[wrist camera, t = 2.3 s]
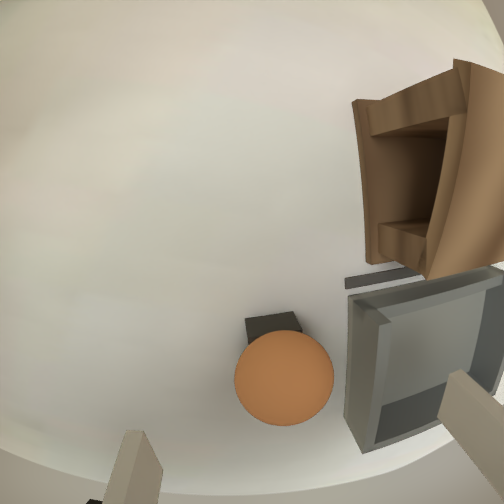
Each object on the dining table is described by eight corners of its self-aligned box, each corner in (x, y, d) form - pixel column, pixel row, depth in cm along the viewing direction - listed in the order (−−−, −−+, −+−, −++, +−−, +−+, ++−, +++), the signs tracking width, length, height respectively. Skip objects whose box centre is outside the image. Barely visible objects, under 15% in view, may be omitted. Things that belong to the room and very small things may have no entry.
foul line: (345, 288, 19) (346, 289, 19) (344, 278, 19) (345, 278, 18) (489, 257, 20) (491, 258, 19) (490, 249, 19) (491, 249, 19)
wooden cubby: (365, 261, 19) (471, 327, 9) (351, 102, 16) (457, 46, 7) (480, 241, 19) (577, 274, 9) (472, 114, 17) (573, 101, 7)
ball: (239, 392, 17) (244, 452, 12) (226, 321, 16) (228, 374, 11) (319, 379, 18) (344, 432, 13) (317, 307, 16) (350, 353, 12)
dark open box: (250, 358, 19) (254, 380, 17) (244, 318, 19) (247, 337, 16) (295, 351, 19) (304, 372, 17) (292, 311, 19) (302, 329, 16)
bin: (343, 416, 21) (362, 454, 17) (348, 295, 19) (379, 325, 15) (468, 371, 22) (495, 394, 18) (487, 264, 20) (525, 279, 15)
